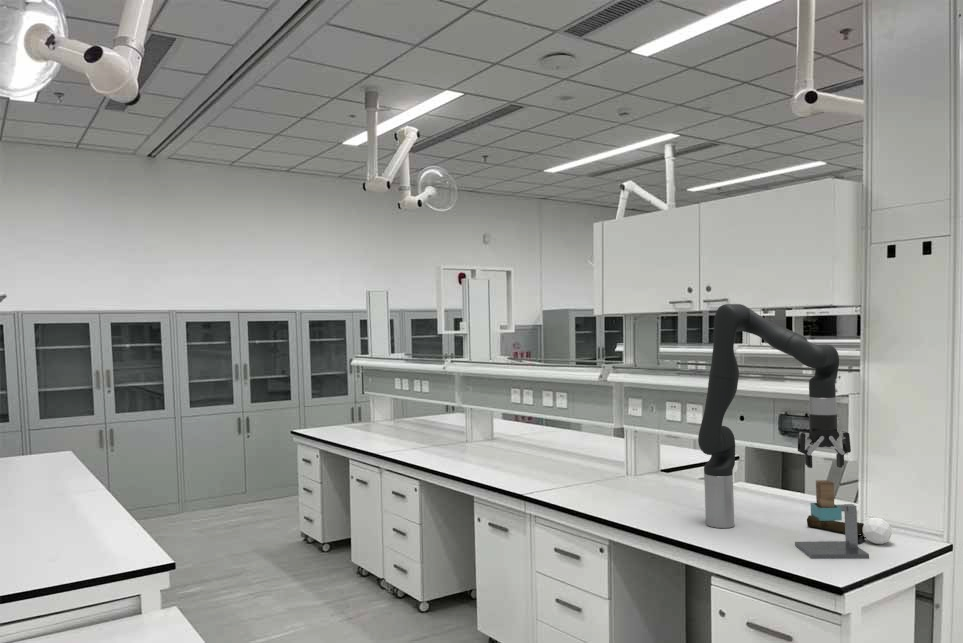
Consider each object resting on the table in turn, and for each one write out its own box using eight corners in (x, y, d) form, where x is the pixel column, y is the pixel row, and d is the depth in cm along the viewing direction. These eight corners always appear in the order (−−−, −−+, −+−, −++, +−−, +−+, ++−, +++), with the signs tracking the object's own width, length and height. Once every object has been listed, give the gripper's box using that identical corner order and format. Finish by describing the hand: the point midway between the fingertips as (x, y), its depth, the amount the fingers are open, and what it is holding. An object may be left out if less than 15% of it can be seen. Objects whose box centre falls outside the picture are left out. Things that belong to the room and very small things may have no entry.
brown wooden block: (816, 514, 203) (815, 480, 203) (829, 513, 203) (828, 480, 203) (822, 517, 199) (820, 482, 200) (834, 517, 199) (833, 482, 199)
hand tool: (805, 528, 226) (805, 514, 226) (812, 525, 228) (811, 511, 228) (865, 541, 210) (864, 526, 210) (871, 538, 213) (870, 524, 213)
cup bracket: (795, 545, 207) (793, 500, 208) (849, 545, 206) (847, 500, 206) (811, 558, 195) (809, 510, 196) (869, 558, 194) (867, 510, 194)
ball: (885, 553, 206) (898, 537, 201) (858, 543, 208) (870, 526, 203) (883, 535, 212) (896, 518, 207) (856, 525, 214) (868, 508, 209)
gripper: (841, 410, 205) (843, 464, 204) (793, 411, 206) (794, 465, 205) (853, 413, 197) (855, 469, 197) (803, 414, 198) (804, 470, 198)
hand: (824, 467), depth 201 cm, fingers open, 8 cm apart
